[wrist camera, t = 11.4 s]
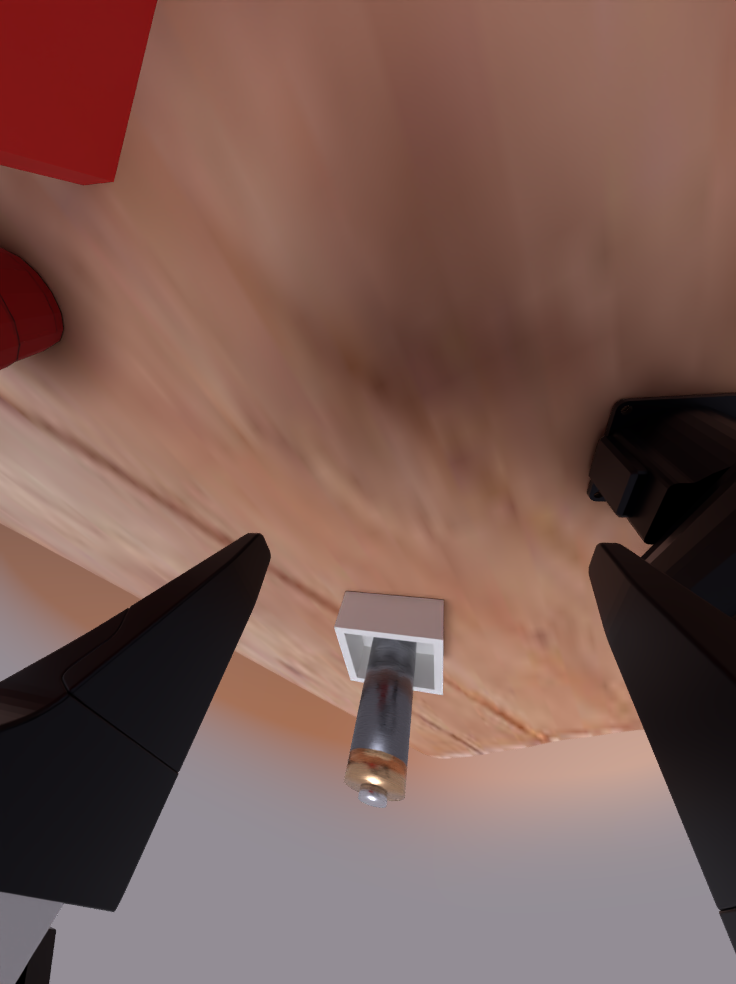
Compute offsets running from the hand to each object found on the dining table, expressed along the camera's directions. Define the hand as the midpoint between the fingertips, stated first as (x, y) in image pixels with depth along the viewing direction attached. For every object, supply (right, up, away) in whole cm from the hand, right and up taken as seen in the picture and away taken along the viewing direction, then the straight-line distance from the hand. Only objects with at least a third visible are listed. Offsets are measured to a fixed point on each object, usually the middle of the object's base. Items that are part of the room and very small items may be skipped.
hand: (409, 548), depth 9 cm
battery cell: (+2, -13, +24) cm, 27 cm away
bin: (+2, -12, +24) cm, 27 cm away
